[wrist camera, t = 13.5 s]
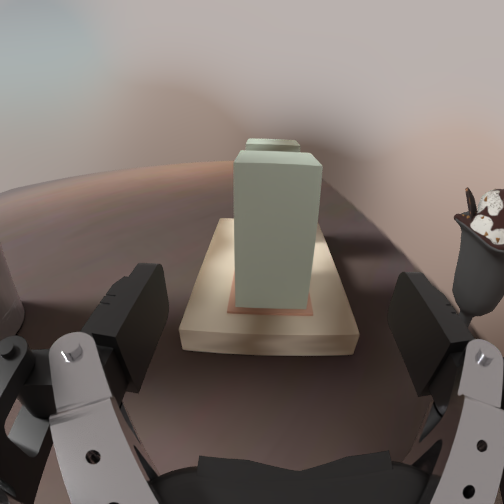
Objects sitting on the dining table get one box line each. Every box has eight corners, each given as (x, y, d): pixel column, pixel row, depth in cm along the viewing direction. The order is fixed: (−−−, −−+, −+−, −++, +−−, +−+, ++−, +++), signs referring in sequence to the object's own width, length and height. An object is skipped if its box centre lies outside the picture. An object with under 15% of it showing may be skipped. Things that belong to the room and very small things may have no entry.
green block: (235, 307, 21) (233, 162, 16) (241, 270, 25) (241, 150, 21) (306, 309, 21) (322, 166, 16) (300, 272, 25) (310, 153, 20)
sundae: (494, 367, 16) (569, 185, 9) (433, 380, 16) (516, 161, 9) (463, 318, 22) (511, 158, 15) (406, 322, 22) (451, 139, 15)
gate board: (182, 349, 20) (158, 176, 14) (220, 233, 37) (218, 137, 32) (353, 354, 19) (394, 185, 14) (315, 236, 37) (324, 141, 31)
